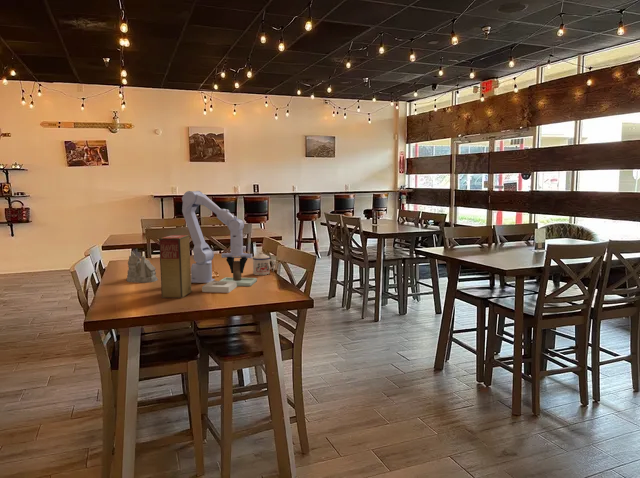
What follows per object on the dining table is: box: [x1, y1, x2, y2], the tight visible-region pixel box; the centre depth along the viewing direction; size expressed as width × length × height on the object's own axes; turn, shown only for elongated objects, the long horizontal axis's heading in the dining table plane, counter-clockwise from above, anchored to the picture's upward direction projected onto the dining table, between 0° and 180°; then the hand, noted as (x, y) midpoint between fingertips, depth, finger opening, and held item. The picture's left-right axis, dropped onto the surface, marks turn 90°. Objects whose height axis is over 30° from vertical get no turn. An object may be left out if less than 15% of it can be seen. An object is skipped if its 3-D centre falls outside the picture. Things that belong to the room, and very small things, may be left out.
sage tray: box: [219, 276, 258, 287], centre depth 225 cm, size 16×12×2 cm
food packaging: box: [158, 234, 192, 299], centre depth 200 cm, size 13×9×25 cm
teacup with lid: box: [252, 251, 276, 276], centre depth 249 cm, size 12×9×12 cm
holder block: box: [201, 280, 238, 294], centre depth 212 cm, size 12×12×2 cm
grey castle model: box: [126, 251, 159, 284], centre depth 234 cm, size 16×16×15 cm
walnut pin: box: [232, 260, 243, 281], centre depth 224 cm, size 4×4×9 cm
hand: (237, 272), depth 225 cm, fingers closed on walnut pin, 4 cm apart
